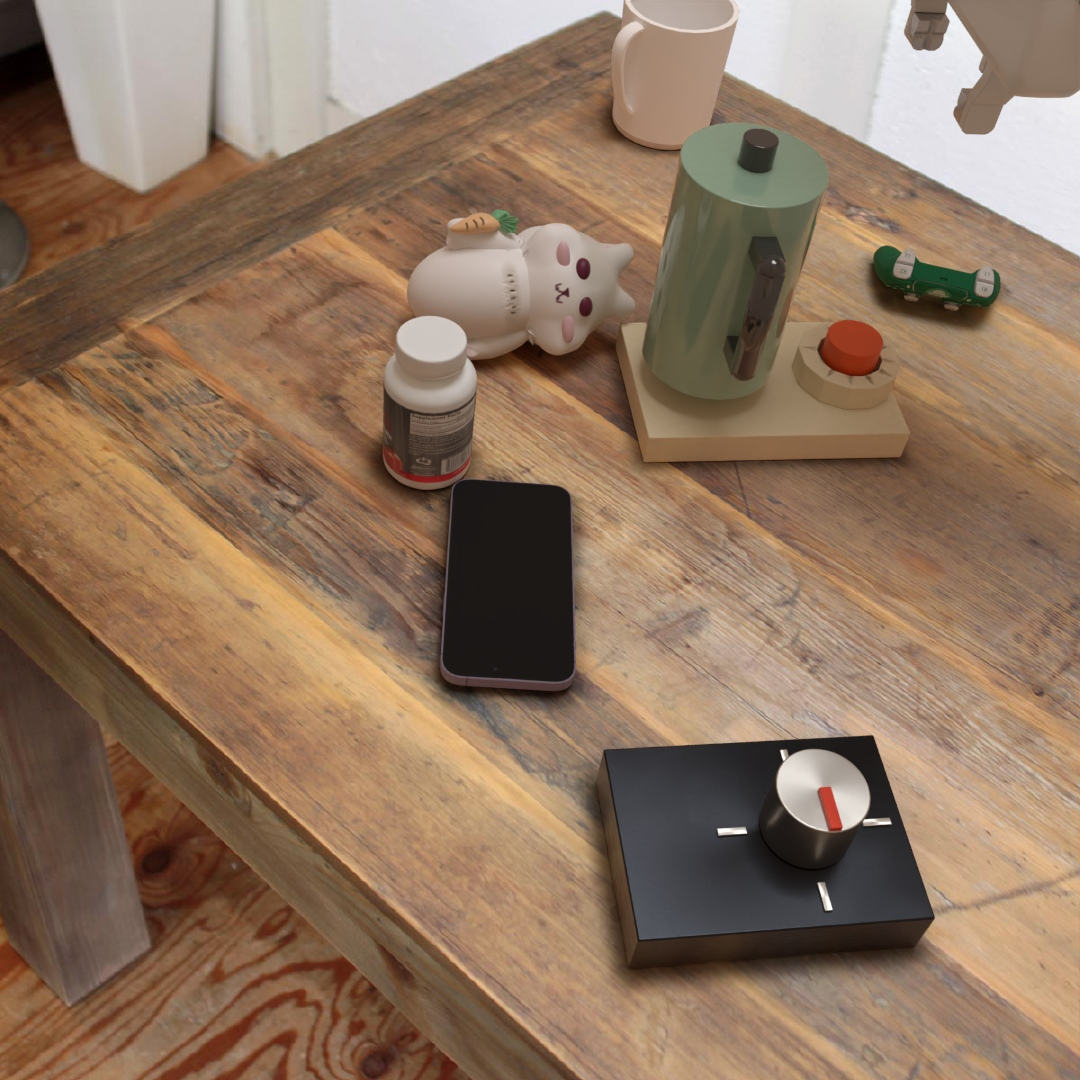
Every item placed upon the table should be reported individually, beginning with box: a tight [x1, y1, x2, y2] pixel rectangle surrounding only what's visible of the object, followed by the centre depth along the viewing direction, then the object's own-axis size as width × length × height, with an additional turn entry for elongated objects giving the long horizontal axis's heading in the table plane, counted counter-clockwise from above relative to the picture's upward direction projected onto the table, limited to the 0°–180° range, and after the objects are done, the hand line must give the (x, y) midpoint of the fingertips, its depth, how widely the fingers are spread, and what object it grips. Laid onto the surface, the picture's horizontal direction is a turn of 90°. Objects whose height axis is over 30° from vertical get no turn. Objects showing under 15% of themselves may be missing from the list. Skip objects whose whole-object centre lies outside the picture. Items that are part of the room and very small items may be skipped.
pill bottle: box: [382, 316, 478, 491], centre depth 78 cm, size 5×5×10 cm
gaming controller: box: [872, 244, 1002, 311], centre depth 97 cm, size 9×4×6 cm
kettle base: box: [615, 321, 911, 463], centre depth 87 cm, size 17×11×4 cm, turn 97°
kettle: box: [642, 122, 830, 400], centre depth 79 cm, size 8×14×16 cm, turn 7°
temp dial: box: [759, 749, 871, 869], centre depth 62 cm, size 4×4×4 cm
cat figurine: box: [406, 209, 637, 361], centre depth 88 cm, size 10×8×15 cm
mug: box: [610, 0, 741, 151], centre depth 106 cm, size 11×9×10 cm
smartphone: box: [439, 478, 577, 692], centre depth 75 cm, size 7×1×15 cm
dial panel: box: [595, 734, 936, 970], centre depth 64 cm, size 14×10×3 cm
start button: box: [821, 319, 883, 376], centre depth 86 cm, size 4×4×2 cm
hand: (944, 84), depth 72 cm, fingers open, 7 cm apart
